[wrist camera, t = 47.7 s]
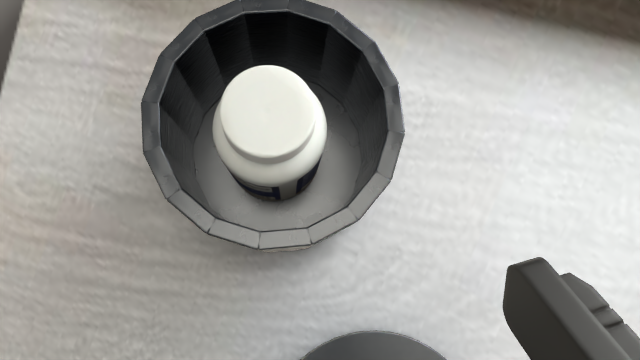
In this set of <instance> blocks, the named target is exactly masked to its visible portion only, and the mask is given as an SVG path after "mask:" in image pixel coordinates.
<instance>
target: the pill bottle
mask: <svg viewBox="0 0 640 360" xmlns="http://www.w3.org/2000/svg"><path fill="white" fill-rule="evenodd" d="M212 130H213V140H214V144H215V147H216V150H217V153H218V155H219V157H220V159H221V160H222V162H223V163H224V165H225V166H226V168H227V169H228V170H229V172H230V173H231V175H232V176H233V178H234V179H235V181H236V182H237V183H238V184H239V185H240V186H241V187H242V188H243V189H244V190H245V191H246V192H247V193H249V194H251V195H253V196H255V197H257V198H260V199H263V200H268V201H280V200H285V199H288V198H291V197H293V196H295V195H297V194H299V193H300V192H302V191H303V190H304V189H305V188H306V187H307V186H308V185H309V184H310V183H311V182H312V180H313V178H314V177H315V175H316V172H317V170H318V167H319V164H320V160H321V157H322V154H323V151H324V147H325V143H326V138H327V122H326V117H325V113H324V110H323V108H322V105H321V103H320V102H319V100H318V98H317V97H316V96H315V94H314V93H313V92H312V91H311V90H310V89H309V87H308V86H307V84H306V83H305V82H304V81H303V80H302V79H301V78H300V77H299V76H298V75H296V74H295V73H294V72H292V71H290V70H288V69H285V68H283V67H279V66H273V65H263V66H256V67H253V68H250V69H247V70H245V71H243V72H242V73H240V74H239V75H237V76H236V77H235V78H234V79H233V80H232V81H231V82H230V83H229V85H228V86H227V87H226V89H225V91H224V93H223V96H222V98H221V101H220V102H219V104H218V106H217V109H216V111H215V115H214V119H213V128H212Z"/></svg>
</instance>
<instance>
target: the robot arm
mask: <svg viewBox="0 0 640 360" xmlns="http://www.w3.org/2000/svg"><path fill="white" fill-rule="evenodd" d="M503 312H504V316H505V319H506V321H507V324H508V326H509V328H510V329H511V331H512V332H513V334H514V335H515V337H516V338H517V340H518V341H519V343H520V344H521V346H522V347H523V349H524V350H525V352H526V353H527V355H528V356H529V358H530V359H531V360H640V338H639V337H638V336H637V335H636V334H635V333H634V332H633V330H632V329H631V328H630V327H629V326H628V325H627V324H624V322H623V319H622V318H621V317H620V316H619V315H618V314H617V313H616V312H615V311H614V310H613V309H611V308H610V307H609V304H608V303H607V302H606V301H605V300H604V299H603V298H602V297H601V295H600V294H599V293H598V292H597V291H596V290H595V289H594V288H593V287H592V286H591V285H589V284H587V283H586V282H584V281H583V280H581V279H579V278H578V277H576V276H574V275H573V274H571V273H567V274H563V275H560V276H559V274H558V273H557V272H556V271H555V270H554V269H553V267H552V266H551V265H550V264H549V263H548V262H547V261H546V260H545V259H543V258H541V257H537V258H534V259H530V260H527V261H523V262H520V263H517V264H513V265H510V266H509V267H508V269H507V275H506V283H505V291H504V299H503Z"/></svg>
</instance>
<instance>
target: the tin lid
mask: <svg viewBox="0 0 640 360" xmlns="http://www.w3.org/2000/svg"><path fill="white" fill-rule="evenodd" d="M301 360H446V359H445V358H444V357H443V356H442V355H440V354H439V353H438V352H436V351H435V350H434V349H432V348H431V347H429V346H427V345H425V344H423V343H421V342H420V341H418V340H415V339H413V338H410V337H408V336H405V335H401V334H397V333H393V332H385V331H361V332H355V333H349V334H346V335H343V336H340V337H336V338H334V339H332V340H330V341H328V342H325V343H323V344H321V345H320V346H318V347H317V348H315V349H314V350H312V351H311V352H309V353H308V354H307V355H306V356H304V357H303V358H302V359H301Z"/></svg>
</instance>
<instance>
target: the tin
mask: <svg viewBox="0 0 640 360" xmlns="http://www.w3.org/2000/svg"><path fill="white" fill-rule="evenodd" d="M263 65H273V66H279V67H283V68H285V69H288V70H290V71H292V72H294V73H295V74H296V75H298V76H299V77H300V78H301V79H302V80H303V81H304V82H305V83H306V84H307V86H308V87H309V89H310V90H311V91H312V92H313V93H314V94H315V96H316V97H317V98H318V100H319V102H320V103H321V105H322V108H323V110H324V113H325V117H326V122H327V138H326V143H325V147H324V151H323V154H322V157H321V160H320V164H319V167H318V170H317V172H316V175H315V177H314V178H313V180H312V182H311V183H310V184H309V185H308V186H307V187H306V188H305V189H304V190H303V191H302V192H300V193H299V194H297V195H295V196H293V197H291V198H288V199H285V200H280V201H268V200H263V199H260V198H257V197H255V196H253V195H251V194H249V193H247V192H246V191H245V190H244V189H243V188H242V187H241V186H240V185H239V184H238V183H237V182H236V181H235V179H234V178H233V176H232V175H231V173H230V172H229V170H228V169H227V168H226V166H225V165H224V163H223V162H222V160H221V159H220V157H219V155H218V153H217V150H216V147H215V144H214V140H213V130H212V128H213V119H214V115H215V111H216V109H217V106H218V104H219V102H220V101H221V98H222V96H223V93H224V91H225V89H226V87H227V86H228V85H229V83H230V82H231V81H232V80H233V79H234V78H235V77H236V76H237V75H239V74H240V73H242V72H243V71H245V70H247V69H250V68H253V67H256V66H263ZM398 84H399V83H398V81H397V79H396V77H395V75H394V74H393V72H392V70H391V68H390V67H389V65H388V63H387V61H386V60H385V58H384V56H383V54H382V52H381V51H380V49H379V47H378V45H377V44H376V42H374V40H373V39H371V38H370V37H369V36H368V35H366V34H365V33H364V32H363V31H361V30H360V29H359V28H358V27H356V26H355V25H354V24H353V23H351V22H350V21H349V20H348V19H346V18H345V17H344V16H343V15H341V14H340V13H339V12H336V10H334V9H331V8H328V7H324V6H321V5H318V4H315V3H312V2H309V1H306V0H235V1H232V2H230V3H228V4H226V5H223V6H221V7H219V8H217V9H214V10H212V11H210V12H208V13H205V14H203V15H201V16H199V17H196V18H195V19H194V20H192V21H191V23H190V24H189V25H188V26H187V27H186V28H185V29H184V30H183V31H182V32H181V33H180V34H179V35H178V36H177V37H176V38H175V39H174V40H173V41H172V42H171V43H170V44H169V45H168V46H167V47H166V48H165V49H164V50H163V51H162V52H161V54H160V56H159V57H158V60H157V62H156V65H155V67H154V70H153V73H152V75H151V78H150V80H149V83H148V85H147V88H146V90H145V93H144V96H143V98H142V102H141V114H142V140H143V154H144V156H145V158H146V160H147V162H148V164H149V166H150V168H151V170H152V172H153V174H154V176H155V178H156V180H157V183H158V185H159V187H160V189H161V191H162V193H163V195H164V197H165V199H167V201H168V202H169V203H171V204H172V205H173V206H174V207H175V208H176V209H178V210H179V211H180V212H181V213H182V214H184V215H185V216H186V217H187V218H188V219H189V220H191V221H192V222H193V223H194V224H195V225H196V226H198V227H199V228H200V229H201V230H202V231H203V232H205V233H207V234H208V235H211V236H214V237H217V238H220V239H223V240H227V241H230V242H233V243H236V244H239V245H243V246H246V247H249V248H252V249H255V250H259V251H262V252H267V253H270V252H281V251H291V250H302V249H307V248H309V247H311V246H313V245H315V244H316V243H318V242H320V241H322V240H324V239H326V238H328V237H330V236H332V235H333V234H335V233H337V232H339V231H341V230H343V229H345V228H346V227H348V226H350V225H352V224H354V223H356V222H357V221H358V220H360V219H361V217H362V216H363V215H364V214H365V213H366V211H367V210H368V209H369V208H370V206H371V205H372V204H373V203H374V201H375V200H376V199H377V198H378V197H379V195H380V194H381V193H382V192H383V190H384V189H385V188H386V187H387V186H388V184H389V183H390V182H391V179H392V177H393V173H394V170H395V166H396V163H397V159H398V156H399V152H400V149H401V145H402V142H403V138H404V135H405V134H404V132H405V128H404V120H403V112H402V104H401V96H400V87H399V85H398Z"/></svg>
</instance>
